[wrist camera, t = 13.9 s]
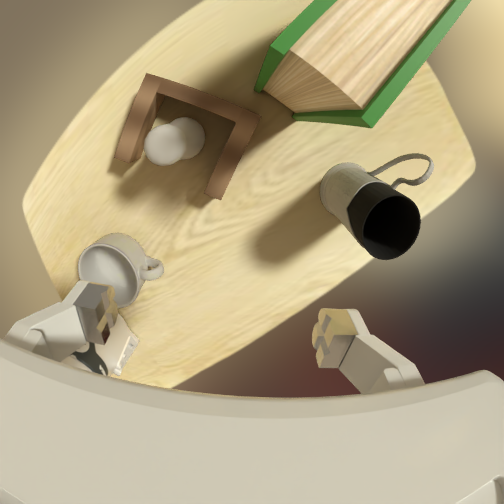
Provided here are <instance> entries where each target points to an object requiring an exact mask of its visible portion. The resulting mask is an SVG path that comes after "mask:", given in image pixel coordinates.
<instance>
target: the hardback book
mask: <svg viewBox="0 0 504 504" xmlns="http://www.w3.org/2000/svg"><path fill="white" fill-rule="evenodd" d="M470 1H471V0H314V1H313V2H312V3H311V4H310V5H309V6H308V7H307V8H306V9H305V10H304V11H303V12H302V13H301V14H300V15H299V16H298V17H297V18H296V19H295V20H294V21H293V22H292V23H291V24H290V25H289V26H288V27H287V28H286V29H285V30H284V31H283V32H282V33H281V34H280V35H279V36H278V37H277V38H276V40H275V41H274V42H273V43H272V44H271V45H270V47H269V49H268V52H267V55H266V57H265V60H264V63H263V65H262V68H261V71H260V74H259V76H258V79H257V82H256V85H255V87H254V90H255V91H256V92H258V93H260V92H261V91H262V89H263V90H264V91H266V92H267V93H269V94H270V95H272V96H273V97H274V98H276V99H277V100H278V101H280V102H281V103H283V104H284V105H285V106H287V107H288V108H289V109H291V110H292V111H293V112H295V113H294V115H293V116H292V117H293V118H294V119H295V120H296V121H308V122H321V123H333V124H342V125H351V126H359V127H366V128H373V127H374V125H375V124H376V123H377V122H378V120H379V119H380V118H381V117H382V115H383V114H384V113H385V112H386V110H387V109H388V108H389V107H390V105H391V104H392V103H393V102H394V100H395V99H396V98H397V96H398V95H399V94H400V93H401V91H402V90H403V89H404V88H405V86H406V85H407V84H408V83H409V81H410V80H411V79H412V77H413V76H414V75H415V74H416V72H417V71H418V70H419V68H420V67H421V66H422V65H423V63H424V62H425V61H426V59H427V58H428V57H429V56H430V54H431V53H432V52H433V50H434V49H435V48H436V46H437V45H438V44H439V42H440V41H441V40H442V39H443V37H444V36H445V35H446V33H447V32H448V31H449V29H450V28H451V27H452V25H453V24H454V23H455V21H456V20H457V19H458V17H459V16H460V15H461V13H462V12H463V11H464V9H465V8H466V7H467V5H468V4H469V3H470Z"/></svg>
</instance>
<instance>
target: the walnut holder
mask: <svg viewBox="0 0 504 504" xmlns="http://www.w3.org/2000/svg"><path fill="white" fill-rule="evenodd" d="M165 95H167V96H170V97H172V98H175V99H178V100H181V101H184V102H187V103H189V104H192V105H195V106H197V107H200V108H203V109H205V110H208V111H210V112H213V113H215V114H218V115H220V116H223V117H225V118H227V119H230V120H232V121H234V122H236V124H235V126H234V129H233V131H232V133H231V135H230V137H229V139H228V141H227V143H226V145H225V147H224V150H223V152H222V154H221V156H220V158H219V160H218V163H217V165H216V167H215V169H214V171H213V174H212V176H211V178H210V180H209V183H208V185H207V187H206V190H205V192H204V194H207V195H209V196H211V197H214V198H216V199H219V200H221V199H222V197H223V195H224V193H225V190H226V188H227V186H228V184H229V182H230V180H231V178H232V175H233V173H234V171H235V169H236V167H237V165H238V163H239V161H240V159H241V157H242V155H243V153H244V150H245V148H246V146H247V144H248V142H249V140H250V138H251V136H252V134H253V132H254V130H255V128H256V126H257V124H258V122H259V120H260V118H261V117H262V116H260V115H258V114H256V113H253V112H251V111H249V110H247V109H244V108H242V107H240V106H237V105H235V104H233V103H230V102H228V101H225V100H223V99H220V98H218V97H215V96H213V95H210V94H208V93H205V92H202V91H200V90H197V89H194V88H191V87H189V86H186V85H183V84H180V83H177V82H174V81H171V80H168V79H164V78H161V77H158V76H155V75H151V74H148V73H146V75H145V78H144V80H143V82H142V84H141V87H140V89H139V91H138V93H137V96H136V98H135V101H134V103H133V106H132V108H131V111H130V113H129V116H128V119H127V121H126V124H125V127H124V129H123V132H122V135H121V138H120V141H119V144H118V147H117V150H116V153H115V157H114V158H116V159H119V160H122V161H124V162H127V163H131V162H133V161H135V160H137V159H139V158H141V155H142V152H143V149H144V141H145V138H146V137H147V135H148V133H149V132H150V131H151V128H152V126H153V123H154V121H155V118H156V116H157V114H158V111H159V109H160V106H161V104H162V102H163V100H164V97H165Z"/></svg>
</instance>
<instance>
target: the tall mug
mask: <svg viewBox="0 0 504 504" xmlns="http://www.w3.org/2000/svg"><path fill="white" fill-rule="evenodd" d="M409 159H425V160H428V161H429V162H430V163H429V167H428V169H427V171H426V172H425V174H424V175H422V176H421V177H419V178H418V179H415V180H407V179H404V178H399V179H397V180H396V181H394V182H393V184H392V185H391V186H390V185H388V184H387V183H385V182H383V181H381V180H379V179H378V178H376V177H374V176H375V175H377V174H379V173H381V172H383V171H384V170H386V169H388V168H389V167H391V166H393V165H395V164H397V163H399V162H402V161H405V160H409ZM433 169H434V164H433V161H432V160H431V158H430V157H428V156H426V155H423V154H419V153H417V154H407V155H403V156H399V157H397V158H395V159H393V160H392V161H390V162H388V163H386V164H384V165H383V166H381V167H379V168H378V169H376V170H374V171H372V172H366V171H365V169H363V168H362V167H361V166H359V165H357V164H354V163H341V164H338V165H336V166H334V167H332V168H331V169H330V170H329V171H328V172H327V173H326V174H325V176H324V177H323V179H322V182H321V185H320V198H321V201H322V204H323V205H324V207H325V208H326V210H327V211H328V212H330V213H331V214H333V215H335V216H336V217H337V218H338V219H339V220H340V221H341V222H342V224H343V225H344V226H345V227H346V228H347V230H348V231H349V232H350V233H351V234H352V236H353V237H354V238H355V239H356V240H357V242H358V243H359V244H360V245H361V246H362V247H363V248H365V249H366V250H367V251H368V252H369V254H370V255H372V256H373V257H375V258H378V259H382V260H389V259H394V258H396V257H399V256H400V255H402V254H404V253H405V252H406V251H407V250H408V249H409V248H410V247H411V246H412V245H413V244H414V242H415V240H416V238H417V236H418V234H419V230H420V223H421V220H420V213H419V210H418V208H417V206H416V204H415V203H414V202H413V201H412V200H411V199H409V198H408V197H406V196H404V195H403V194H401V193H399V192H398V191H396V190H395V189H396V187H397V186H398V185H399V184H401V183H406V184H408V185H411V186H415V185H419V184H421V183H423V182H425V181H426V180H427V179H428V178H429V177H430V175H431V174H432V172H433Z"/></svg>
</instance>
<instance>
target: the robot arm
mask: <svg viewBox="0 0 504 504" xmlns="http://www.w3.org/2000/svg"><path fill="white" fill-rule="evenodd" d="M114 296H115V290H114V287H113V286H111V285H105V284H100V283H95V282H89V281H84V280H80V281H78V282H77V283H76V285H75V286H74V287H73V288H72V290H71V291H70V292H69V294H68V295H67V296H66V297H65V299H64V300H63V301H62V302H57V303H55V304H53V305H51V306H49V307H47V308H44V309H42V310H40V311H38V312H36V313H34V314H32V315H30V316H28V317H26V318H23V319H21V320H19V321H17V322H16V323H15V324H14V325H13V327H12V328H11V329H10V331H9V332H8V333H7V335H6V336H5V338H4V339H3V340H2V339H0V504H504V381H503V380H502V379H500V378H498V377H497V376H496V375H494V374H493V373H491V372H489V371H487V370H481V371H477V372H474V373H471V374H467V375H463V376H459V377H456V378H452V379H447V380H443V381H439V382H434V383H430V384H425V383H424V381H423V379H422V378H421V376H420V374H419V372H418V370H417V368H416V366H415V364H413V363H412V362H410V361H409V360H408V359H406V358H405V357H403V356H402V355H401V354H399V353H398V352H396V351H395V350H393V349H392V348H391V347H389V346H388V345H387V344H385V343H384V342H382V341H381V340H379V339H378V338H377V337H375V336H374V335H370V333H369V331H368V329H367V327H366V325H365V323H364V321H363V319H362V317H361V315H360V313H359V312H358V310H356V309H323V308H322V309H321V310H320V312H319V315H318V318H319V322H318V323H317V324H315V326H314V329H313V333H312V342H313V347H314V348H315V349H316V350H317V354H316V358H317V362H318V366H319V368H339V370H340V371H341V372H342V373H343V374H344V375H345V376H346V377H347V378H348V379H349V380H350V381H351V383H352V384H353V385H354V386H355V387H356V388H357V389H358V390H359V391H360V392H361V393H362V394H357V395H345V396H331V397H308V398H264V397H243V396H228V395H217V394H206V393H198V392H189V391H182V390H175V389H169V388H163V387H157V386H151V385H146V384H141V383H136V382H131V381H126V380H122V379H118V378H113V377H110V376H111V375H112V373H114V374H115V375H117V376H120V374H121V371H122V369H123V367H124V365H125V364H126V362H127V361H128V359H129V358H130V356H131V354H132V353H133V351H134V350H135V348H136V347H137V345H138V343H139V339H138V338H137V337H136V336H135V335H134V334H133V333H132V332H131V331H130V329H129V328H128V326H127V324H126V322H125V320H124V319H123V318H122V316H121V315H120V314H119V313H118V307H117V303H116V302H115V301H114V300H113V298H114Z"/></svg>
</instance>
